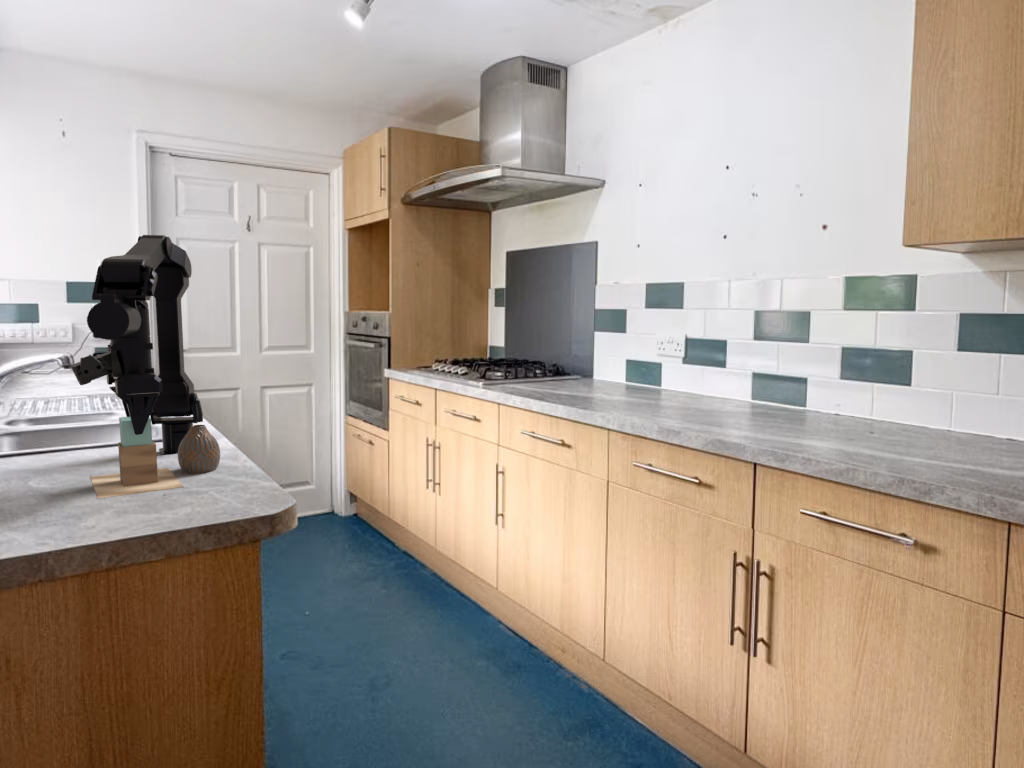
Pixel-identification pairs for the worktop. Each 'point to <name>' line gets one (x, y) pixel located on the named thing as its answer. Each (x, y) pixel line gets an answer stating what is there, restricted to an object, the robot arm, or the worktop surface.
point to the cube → (130, 437)
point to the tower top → (137, 455)
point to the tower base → (138, 474)
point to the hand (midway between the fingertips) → (136, 431)
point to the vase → (198, 451)
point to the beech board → (114, 486)
